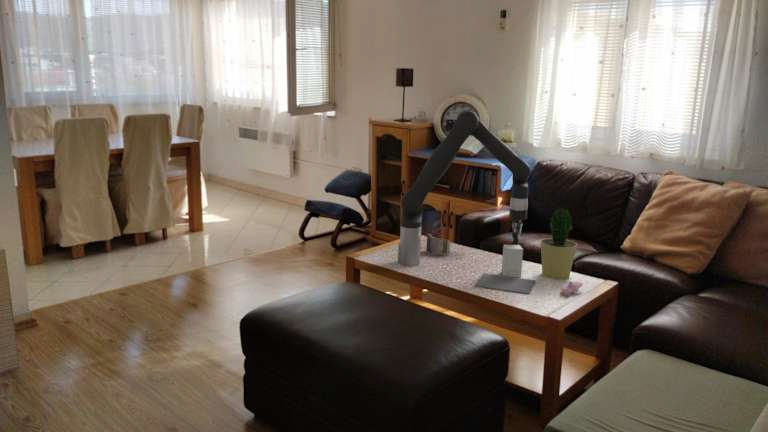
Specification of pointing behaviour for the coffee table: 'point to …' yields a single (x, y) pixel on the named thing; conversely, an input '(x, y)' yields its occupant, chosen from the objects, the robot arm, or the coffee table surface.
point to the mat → (505, 283)
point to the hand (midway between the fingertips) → (515, 246)
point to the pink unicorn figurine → (571, 288)
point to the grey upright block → (438, 245)
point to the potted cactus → (558, 248)
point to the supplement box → (512, 260)
